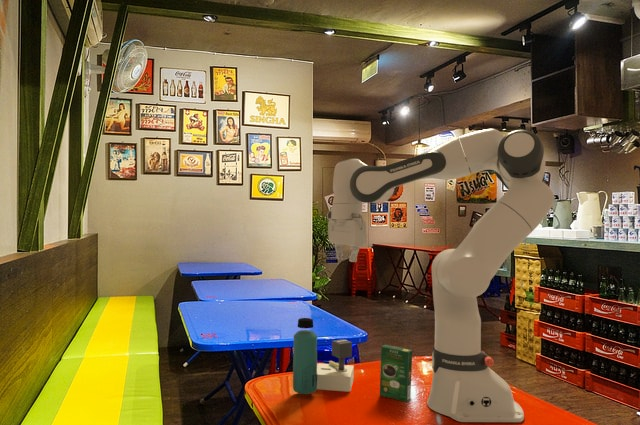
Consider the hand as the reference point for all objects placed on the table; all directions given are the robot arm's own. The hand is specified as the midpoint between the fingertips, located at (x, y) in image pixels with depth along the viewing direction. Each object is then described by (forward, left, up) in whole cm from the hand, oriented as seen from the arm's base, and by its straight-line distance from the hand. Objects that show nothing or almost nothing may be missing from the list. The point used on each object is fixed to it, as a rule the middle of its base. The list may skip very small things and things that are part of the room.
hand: (346, 260), depth 141 cm
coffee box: (-15, +15, -34) cm, 40 cm away
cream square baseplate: (+3, +8, -34) cm, 35 cm away
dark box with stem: (+1, +7, -30) cm, 31 cm away
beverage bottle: (+8, +18, -34) cm, 40 cm away
